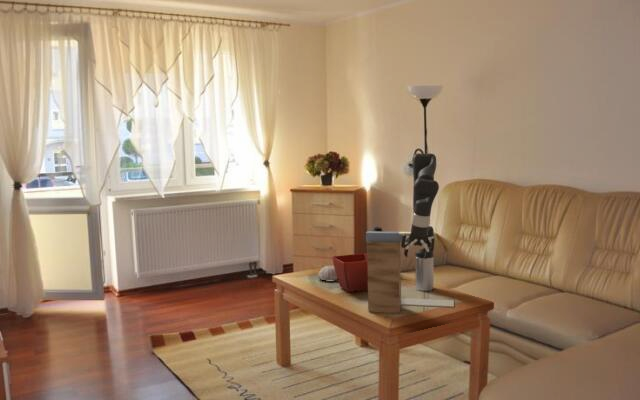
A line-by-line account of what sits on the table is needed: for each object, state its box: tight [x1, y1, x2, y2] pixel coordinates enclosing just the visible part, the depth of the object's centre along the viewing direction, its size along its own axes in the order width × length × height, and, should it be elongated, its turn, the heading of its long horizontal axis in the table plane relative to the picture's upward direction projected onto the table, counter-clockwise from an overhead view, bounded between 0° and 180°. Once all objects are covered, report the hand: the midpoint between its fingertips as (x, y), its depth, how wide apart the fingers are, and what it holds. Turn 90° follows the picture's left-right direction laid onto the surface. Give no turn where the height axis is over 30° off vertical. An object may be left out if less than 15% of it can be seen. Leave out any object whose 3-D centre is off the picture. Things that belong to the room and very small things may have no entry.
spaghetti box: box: [365, 230, 411, 243], centre depth 250 cm, size 4×24×4 cm, turn 76°
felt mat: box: [401, 297, 455, 308], centre depth 262 cm, size 10×26×1 cm, turn 76°
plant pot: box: [331, 253, 368, 293], centre depth 291 cm, size 19×19×17 cm
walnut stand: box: [366, 241, 402, 314], centre depth 252 cm, size 11×14×32 cm
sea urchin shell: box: [317, 265, 338, 281], centre depth 313 cm, size 13×14×8 cm
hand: (415, 257), depth 245 cm, fingers open, 8 cm apart
